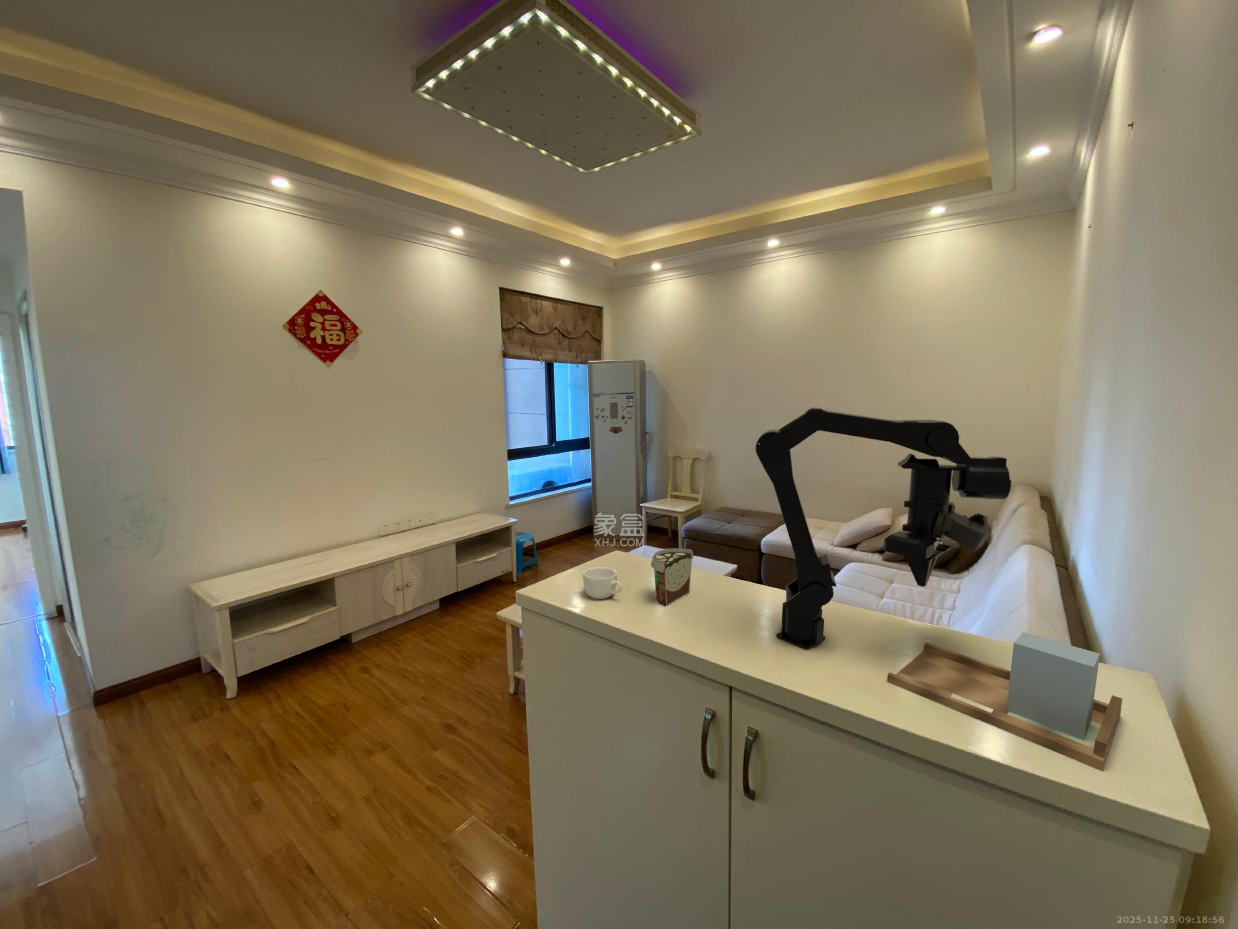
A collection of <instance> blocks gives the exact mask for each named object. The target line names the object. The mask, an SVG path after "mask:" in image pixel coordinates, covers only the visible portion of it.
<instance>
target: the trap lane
mask: <svg viewBox="0 0 1238 929" xmlns="http://www.w3.org/2000/svg"><path fill="white" fill-rule="evenodd" d="M1010 673H1011V670H1009V669H1006V668H1003V667H1000V666H996V665H994V664H991V663H987V662H985V661H981V660H979V659H977V658H973V657H969V656H966V655H964V654H961V653H958V652H956V651H952V650H949V649H946V648H943V647H942V646H941V647H940V646H938V645H935V644H931V643H929V642H925V643H924V646H923V650H922V651H921V652H920V653H919V654H918V655H916V656H915V657H914V658H913V659H912V660H911V661H909V662H908V663H907V664H906V665H905V666H903V668H901V669H900V670H899V671H898V672H896V673H895V674H894V673H892V672H888V673H887V676H886V677H887V678H886V681H887V682H886V683H889V684H892V685H894V686H896V687H899V688H901V689H903V690H906V691H908V692H911V693H914V694H916V695H918V696H920V697H923V698H925V699H927V700H930V701H932V702H935V703H938V704H939V705H941V706H942V705H943V706H944V707H946V708H949V709H952V710H955V711H957V712H959V713H961V714H964V715H966V716H969V717H970V718H973V719H976V720H979V721H981V722H983V723H985V724H988V725H990V726H993V727H995V728H997V729H1000V730H1002V731H1004V732H1008V733H1010V734H1012V735H1014V736H1017V737H1019V738H1022V739H1024V740H1027V741H1029V742H1031V743H1033V744H1036V745H1039V746H1041V747H1043V748H1046V749H1048V750H1050V751H1052V752H1056V753H1058V754H1061V755H1063V756H1065V757H1067V758H1070V759H1073V760H1075V761H1077V762H1079V763H1082V764H1084V765H1087V766H1089V767H1092V768H1094V769H1097V770H1099V771H1101V772H1103V771H1104V767H1105V765H1106V761H1107V758H1108V755H1109V752H1110V750H1111V746H1112V743H1113V740H1114V737H1115V735H1116V731H1117V728H1118V724H1119V722H1120V719H1121V714H1122V704H1123V698H1122V697H1119V696H1115V695H1113V694H1111V697H1110V699H1109V702H1108V703H1106V702H1104V701H1100V700H1098V699H1095V698H1094V702H1093V710H1092V717H1091V724H1090V727H1089V729H1088V732H1087V734H1086V737H1085V739H1084V740H1081V739H1078V738H1076V737H1073V736H1071V735H1068V734H1066V733H1063V732H1060V731H1058V730H1055V729H1053V728H1050V727H1048V726H1045V725H1042V724H1040V723H1037V722H1035V721H1032V720H1030V719H1027V718H1024V717H1022V716H1019V715H1017V714H1014V713H1012V712H1009V711H1006V709H1007V700H1008V691H1009V682H1010ZM952 695H956V696H959V697H961V698H963V699H966V700H969V701H971V702H973V703H976V704H979V705H982V706H984V707H986V708H989V709H991V710H992V711H991V712H990V711H988V710H985V709H983V708H981V707H978V706H976V705H973V704H970V703H967V702H965V701H962V700H960V699H958V698H955V697H952Z"/></svg>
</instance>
